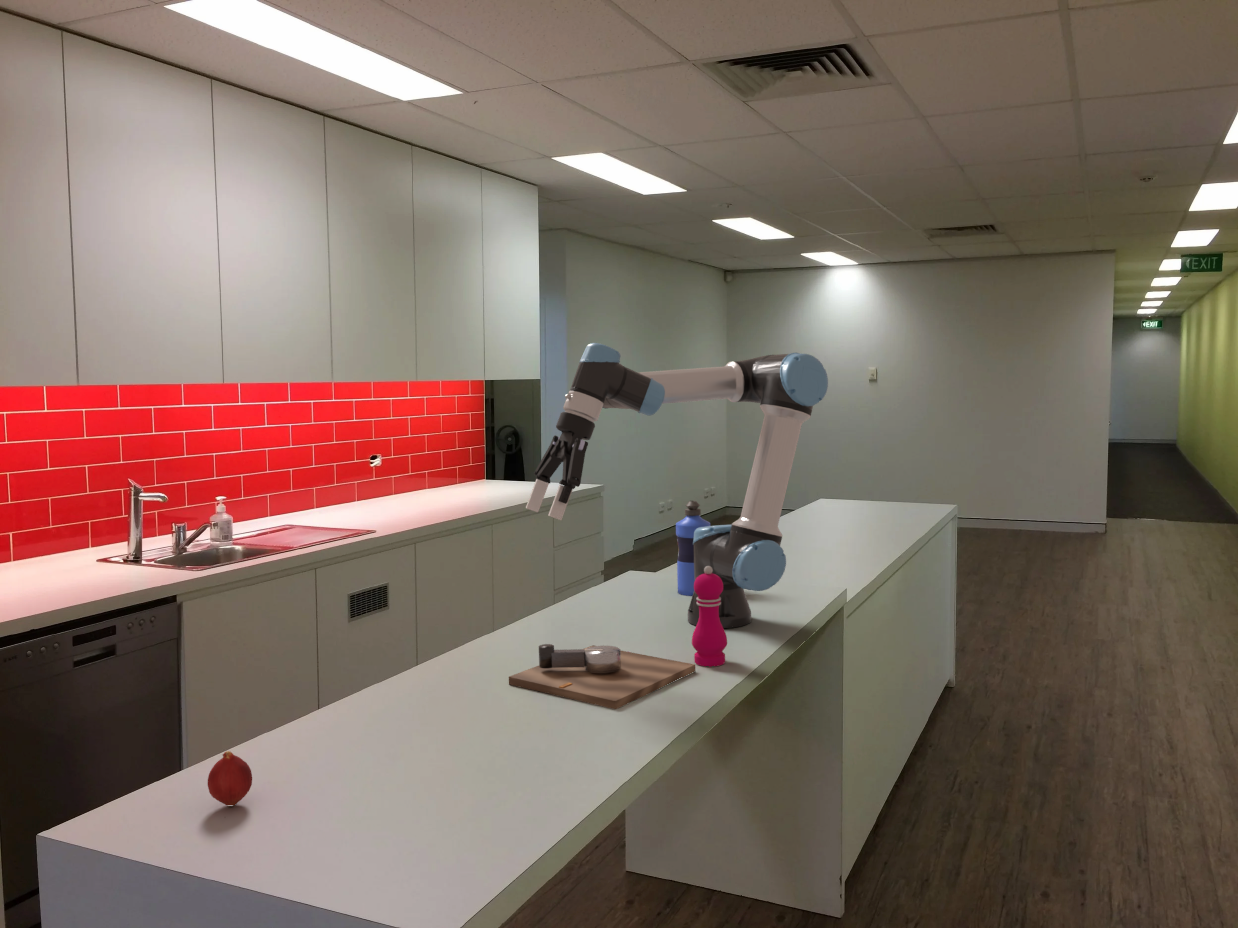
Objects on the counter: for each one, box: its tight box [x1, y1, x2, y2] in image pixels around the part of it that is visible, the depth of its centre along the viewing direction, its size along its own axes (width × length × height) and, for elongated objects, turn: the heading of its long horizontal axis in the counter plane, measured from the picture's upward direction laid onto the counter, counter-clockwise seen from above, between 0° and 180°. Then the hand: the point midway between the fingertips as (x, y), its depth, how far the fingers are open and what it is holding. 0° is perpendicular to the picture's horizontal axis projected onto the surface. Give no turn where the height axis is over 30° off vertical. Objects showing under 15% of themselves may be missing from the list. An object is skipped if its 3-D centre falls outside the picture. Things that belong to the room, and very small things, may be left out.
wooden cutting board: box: [508, 645, 696, 710], centre depth 189 cm, size 26×26×2 cm
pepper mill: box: [691, 566, 728, 668], centre depth 196 cm, size 7×7×20 cm
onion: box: [207, 750, 253, 806], centre depth 135 cm, size 6×6×8 cm
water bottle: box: [675, 500, 711, 597], centre depth 261 cm, size 9×9×25 cm
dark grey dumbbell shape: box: [538, 643, 621, 673], centre depth 189 cm, size 16×7×4 cm, turn 88°
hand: (542, 514), depth 196 cm, fingers open, 13 cm apart
